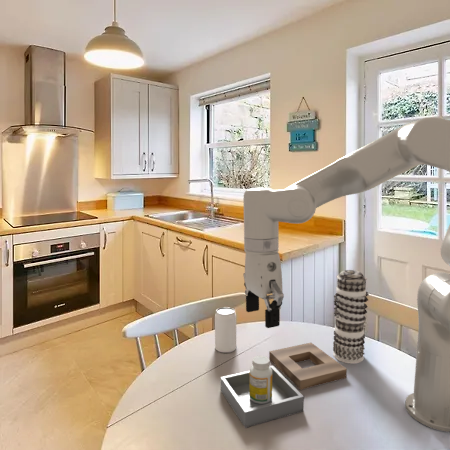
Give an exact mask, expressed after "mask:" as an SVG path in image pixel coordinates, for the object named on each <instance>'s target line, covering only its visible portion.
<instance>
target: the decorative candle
mask: <svg viewBox="0 0 450 450" xmlns="http://www.w3.org/2000/svg"><path fill="white" fill-rule="evenodd" d="M336 278H337V285H336V293H335V295H333V298H334V300H333V305H334V307H333V309H334V313H333V315H334V318H335V325H334V331H333V335H334V336H333V343H332V345H333V347H332V351H333V352H332V354H333V358H335V360H336V361H338V362H343V363H345V364H359V363H362V362H363V361H364V358H365V357H364V355H365V352H364V351H365V341H366V340H365V339H366V335H365V329H364V327H365V325H364V323H365V322H366V319H367V317H366V316H365V315H366V314H367V313H368V311H367V308H368V304H366V303H367V302H369V299H368V296H369V292H368V291H367V289H366V286H367V280H368V278H367V277H366V276H364V274H363V273H362V272H361V271H358V270H354V269H353V270H352V269H346V270H342V271H341V272H340V273H339V274H337V275H336Z"/></svg>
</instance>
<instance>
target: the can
mask: <svg viewBox="0 0 450 450" xmlns="http://www.w3.org/2000/svg"><path fill="white" fill-rule="evenodd" d="M214 347H215V350H216V351H217V352H219V353H222V354H230V353H232V352H234V351H235V350H236V349H237V314H236V312H235V308H233V307H228V306H224V307H223V306H222V307H219V308H217V309H216V310H215V315H214Z"/></svg>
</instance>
